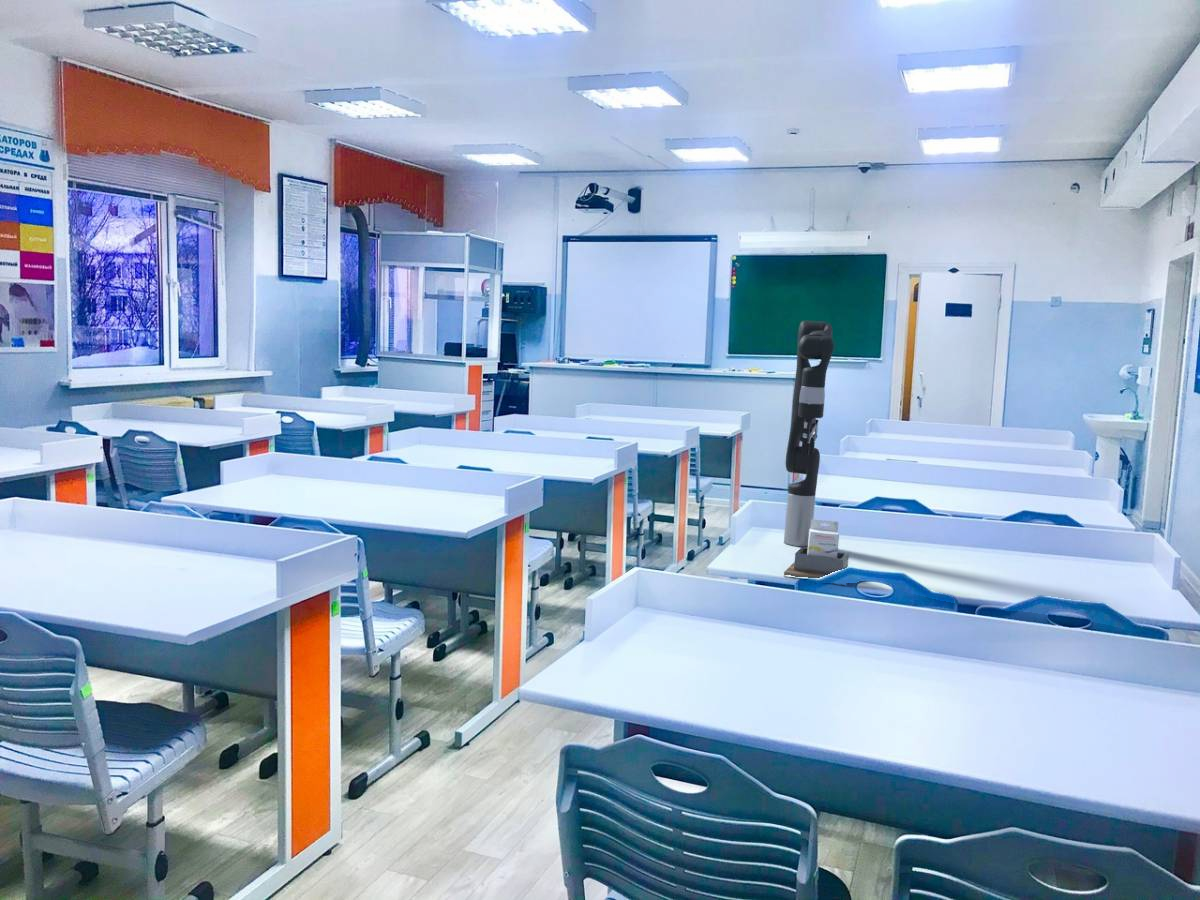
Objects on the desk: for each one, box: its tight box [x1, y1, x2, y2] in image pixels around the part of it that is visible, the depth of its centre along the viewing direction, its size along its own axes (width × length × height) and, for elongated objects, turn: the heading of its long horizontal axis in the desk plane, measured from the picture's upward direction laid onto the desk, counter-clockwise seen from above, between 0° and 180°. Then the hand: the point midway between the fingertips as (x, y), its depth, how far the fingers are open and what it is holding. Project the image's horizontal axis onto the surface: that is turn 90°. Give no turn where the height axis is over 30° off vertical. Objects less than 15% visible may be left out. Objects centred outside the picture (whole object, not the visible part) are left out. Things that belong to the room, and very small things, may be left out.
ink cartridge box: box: [807, 518, 840, 558], centre depth 288 cm, size 9×5×15 cm, turn 80°
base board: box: [783, 561, 825, 578], centre depth 289 cm, size 18×18×2 cm
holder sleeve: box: [793, 546, 850, 575], centre depth 288 cm, size 10×14×5 cm
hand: (807, 454), depth 299 cm, fingers open, 8 cm apart
